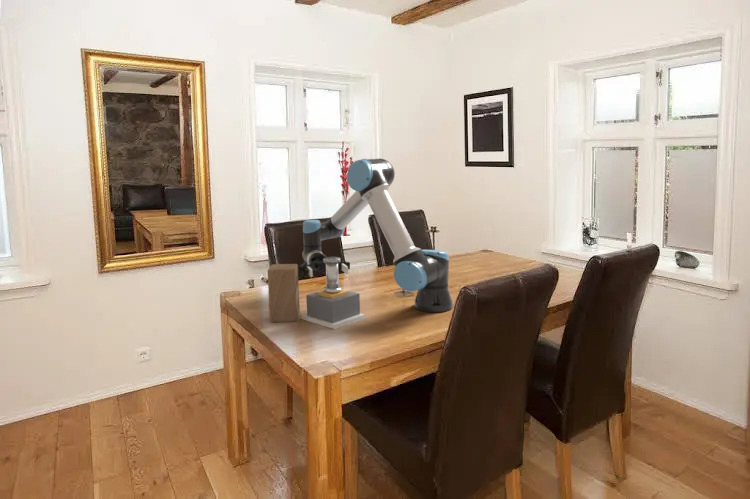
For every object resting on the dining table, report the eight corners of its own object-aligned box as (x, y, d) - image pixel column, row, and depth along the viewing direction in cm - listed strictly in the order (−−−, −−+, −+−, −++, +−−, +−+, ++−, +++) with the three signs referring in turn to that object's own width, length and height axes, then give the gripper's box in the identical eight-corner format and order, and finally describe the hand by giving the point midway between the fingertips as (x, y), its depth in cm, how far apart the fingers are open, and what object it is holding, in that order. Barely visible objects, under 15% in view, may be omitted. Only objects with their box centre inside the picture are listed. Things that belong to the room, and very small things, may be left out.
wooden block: (300, 313, 206) (297, 263, 202) (297, 321, 196) (294, 269, 193) (274, 314, 206) (271, 264, 202) (270, 322, 196) (267, 269, 192)
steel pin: (345, 311, 199) (344, 258, 195) (333, 315, 194) (331, 260, 190) (333, 308, 203) (332, 256, 199) (321, 312, 198) (319, 258, 195)
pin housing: (365, 318, 199) (365, 291, 197) (334, 329, 187) (333, 300, 185) (332, 309, 211) (331, 283, 209) (301, 319, 199) (300, 292, 197)
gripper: (347, 267, 223) (361, 278, 203) (287, 272, 215) (296, 284, 195) (346, 249, 221) (361, 259, 202) (286, 254, 214) (296, 264, 194)
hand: (329, 271), depth 199 cm, fingers open, 13 cm apart
